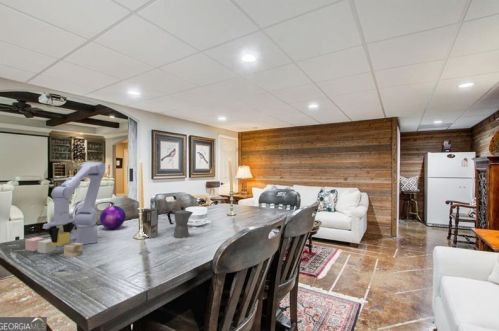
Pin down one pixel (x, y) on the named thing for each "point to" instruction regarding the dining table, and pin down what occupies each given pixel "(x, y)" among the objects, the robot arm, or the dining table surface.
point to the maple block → (73, 250)
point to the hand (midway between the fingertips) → (60, 240)
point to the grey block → (46, 246)
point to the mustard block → (62, 238)
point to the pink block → (32, 243)
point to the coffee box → (150, 222)
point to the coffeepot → (180, 222)
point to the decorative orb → (112, 217)
